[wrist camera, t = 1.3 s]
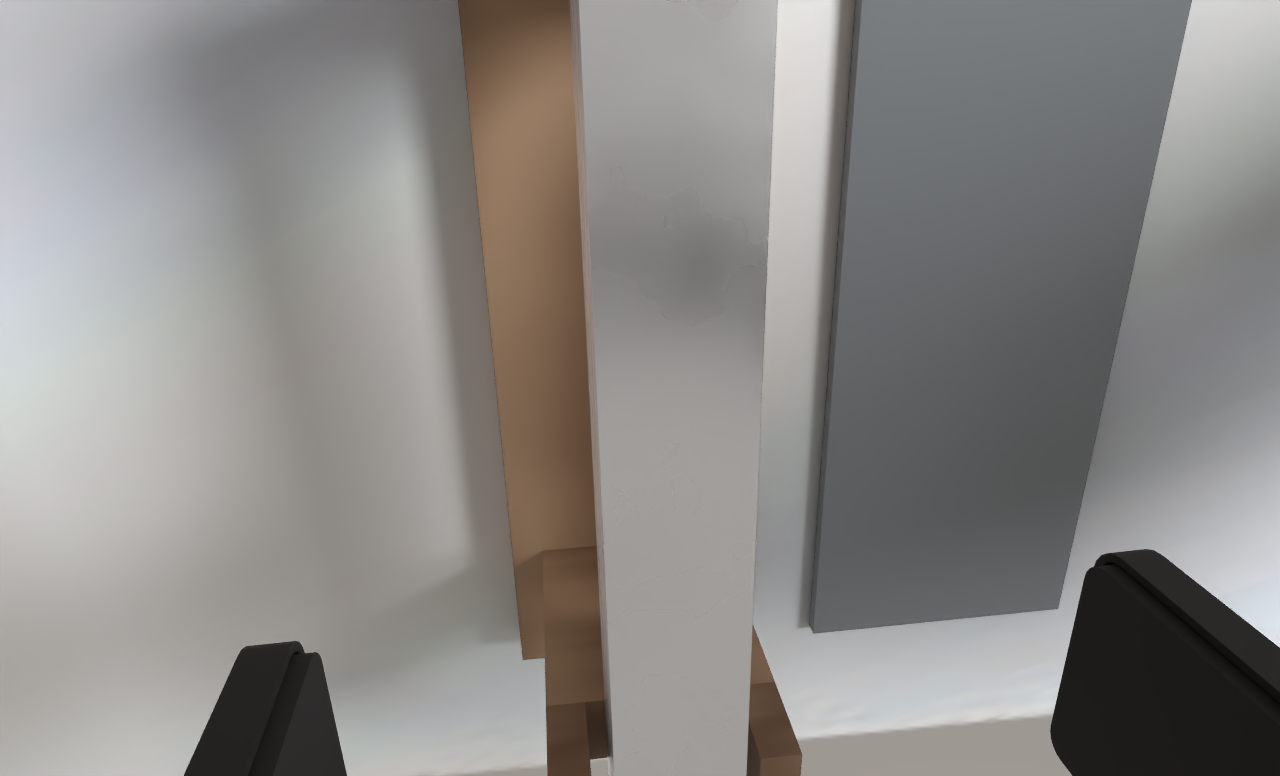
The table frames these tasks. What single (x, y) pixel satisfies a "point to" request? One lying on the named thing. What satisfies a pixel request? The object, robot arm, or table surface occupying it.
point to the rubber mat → (979, 294)
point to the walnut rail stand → (555, 373)
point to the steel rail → (675, 361)
